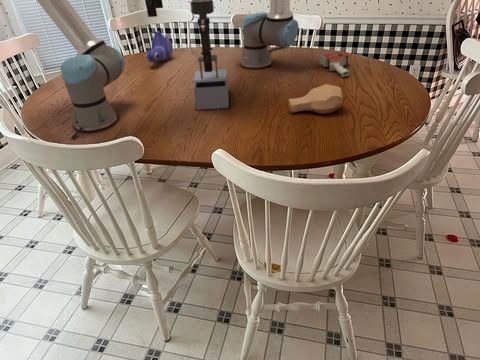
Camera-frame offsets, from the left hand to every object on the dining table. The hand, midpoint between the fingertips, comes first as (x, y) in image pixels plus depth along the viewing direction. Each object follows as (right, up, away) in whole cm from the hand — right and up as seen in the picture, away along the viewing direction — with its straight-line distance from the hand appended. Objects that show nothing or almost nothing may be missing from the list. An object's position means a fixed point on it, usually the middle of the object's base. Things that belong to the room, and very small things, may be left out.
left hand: (156, 12), depth 117 cm
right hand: (+16, -15, +14) cm, 26 cm away
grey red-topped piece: (+72, -4, +49) cm, 87 cm away
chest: (+17, -23, +28) cm, 40 cm away
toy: (-15, +7, +71) cm, 73 cm away
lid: (+16, -15, +21) cm, 31 cm away
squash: (+56, -30, +15) cm, 65 cm away
